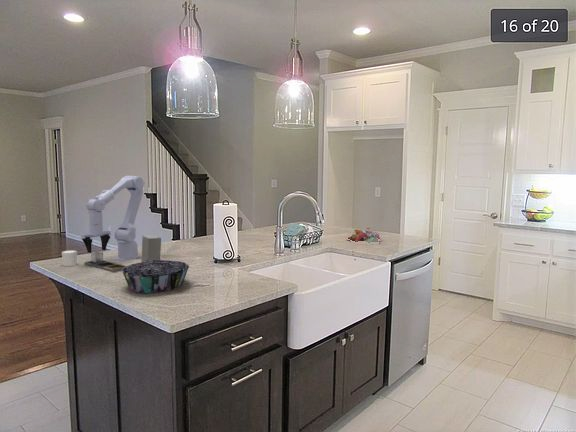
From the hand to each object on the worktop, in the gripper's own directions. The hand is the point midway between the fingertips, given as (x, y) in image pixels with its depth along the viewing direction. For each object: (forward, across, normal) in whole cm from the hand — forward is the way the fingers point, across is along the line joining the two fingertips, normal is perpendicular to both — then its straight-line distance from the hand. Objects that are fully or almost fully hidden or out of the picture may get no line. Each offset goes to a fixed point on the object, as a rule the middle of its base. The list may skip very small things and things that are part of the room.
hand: (96, 251), depth 208 cm
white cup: (+7, +9, -8) cm, 14 cm away
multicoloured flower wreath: (+7, -153, +75) cm, 171 cm away
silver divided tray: (+7, 0, +8) cm, 10 cm away
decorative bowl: (+7, +5, +50) cm, 51 cm away
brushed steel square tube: (+6, 0, 0) cm, 7 cm away
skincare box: (+7, -13, +24) cm, 29 cm away
